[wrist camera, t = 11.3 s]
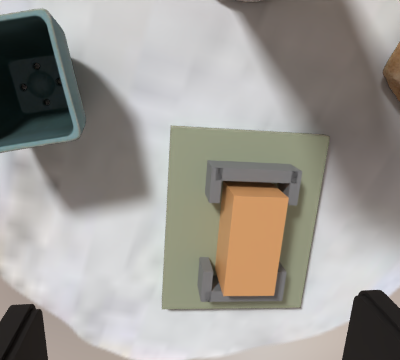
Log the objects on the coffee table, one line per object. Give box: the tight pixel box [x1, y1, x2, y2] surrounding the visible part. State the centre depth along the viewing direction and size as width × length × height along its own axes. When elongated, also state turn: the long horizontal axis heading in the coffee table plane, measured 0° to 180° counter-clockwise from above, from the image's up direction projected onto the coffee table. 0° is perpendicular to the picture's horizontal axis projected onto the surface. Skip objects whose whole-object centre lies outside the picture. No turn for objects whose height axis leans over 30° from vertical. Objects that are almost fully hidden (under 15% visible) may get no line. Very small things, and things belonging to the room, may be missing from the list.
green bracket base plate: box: [162, 126, 330, 309], centre depth 36 cm, size 20×16×4 cm
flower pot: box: [0, 9, 86, 153], centre depth 28 cm, size 9×9×9 cm
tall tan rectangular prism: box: [215, 181, 289, 296], centre depth 34 cm, size 10×5×5 cm, turn 176°
